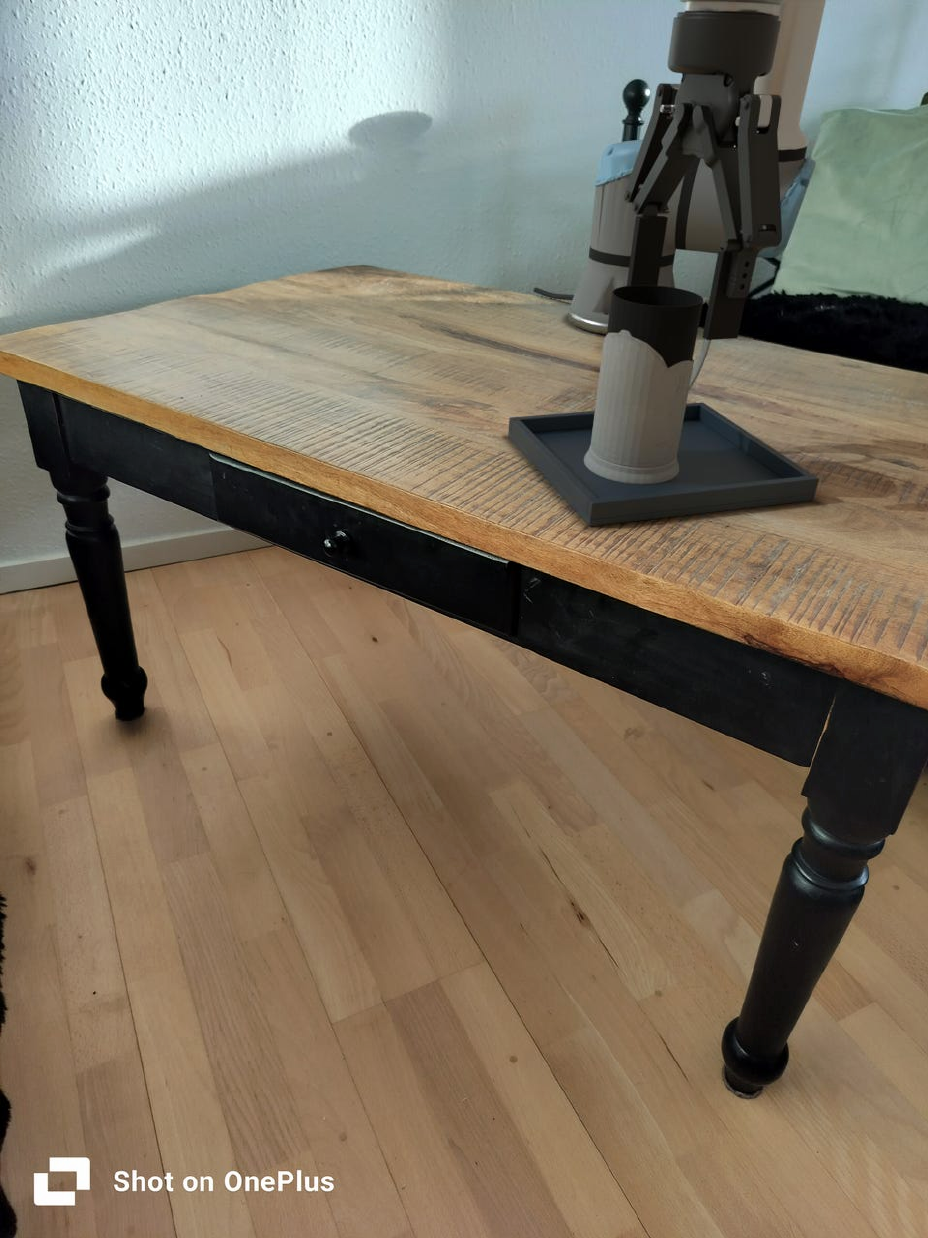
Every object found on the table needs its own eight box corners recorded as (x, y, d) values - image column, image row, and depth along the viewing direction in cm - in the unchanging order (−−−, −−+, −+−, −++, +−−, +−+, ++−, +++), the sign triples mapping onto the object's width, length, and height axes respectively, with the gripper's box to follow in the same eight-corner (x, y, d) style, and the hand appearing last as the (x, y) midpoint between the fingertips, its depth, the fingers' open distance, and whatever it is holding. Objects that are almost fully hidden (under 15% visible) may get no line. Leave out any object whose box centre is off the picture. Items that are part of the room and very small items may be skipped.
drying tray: (507, 437, 86) (509, 417, 85) (699, 421, 92) (702, 401, 90) (589, 526, 70) (592, 503, 69) (813, 500, 76) (819, 478, 75)
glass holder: (564, 461, 80) (582, 292, 71) (653, 425, 88) (679, 270, 80) (642, 493, 75) (671, 314, 66) (728, 452, 83) (764, 289, 75)
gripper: (605, 8, 70) (578, 281, 82) (787, 4, 51) (716, 363, 63) (687, 12, 72) (648, 278, 84) (892, 10, 53) (804, 356, 65)
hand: (677, 315), depth 74 cm, fingers open, 13 cm apart
